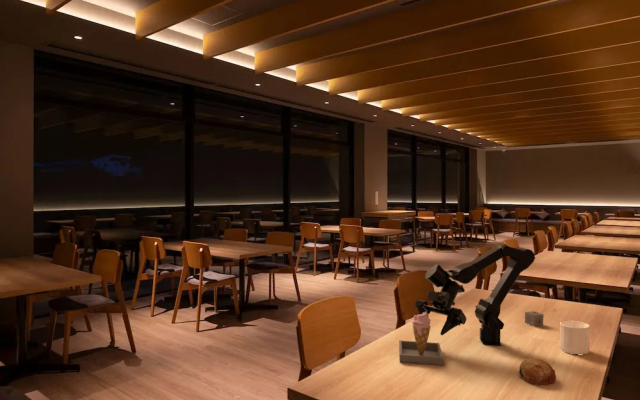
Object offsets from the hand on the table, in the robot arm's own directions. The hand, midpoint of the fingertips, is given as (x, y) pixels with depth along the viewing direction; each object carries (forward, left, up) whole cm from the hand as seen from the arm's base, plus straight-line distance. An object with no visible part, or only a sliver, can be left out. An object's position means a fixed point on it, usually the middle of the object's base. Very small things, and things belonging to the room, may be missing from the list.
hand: (429, 331), depth 151 cm
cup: (-52, -12, -8) cm, 53 cm away
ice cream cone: (+3, +4, -7) cm, 9 cm away
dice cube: (-47, -42, -8) cm, 64 cm away
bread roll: (-31, +15, -8) cm, 35 cm away
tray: (+3, +4, -7) cm, 9 cm away
